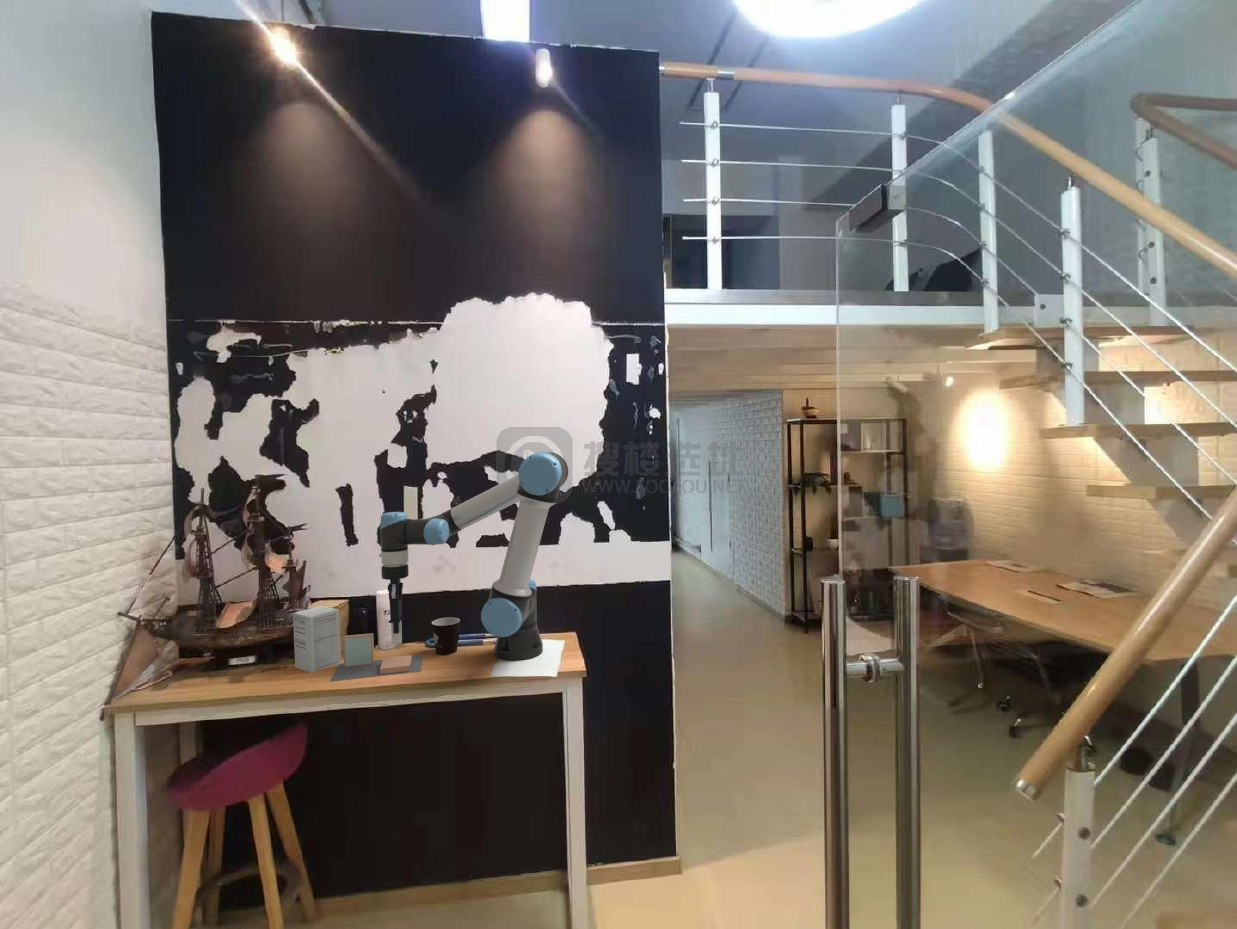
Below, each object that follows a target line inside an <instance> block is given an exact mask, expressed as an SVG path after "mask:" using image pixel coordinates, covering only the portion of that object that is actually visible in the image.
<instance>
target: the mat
mask: <svg viewBox="0 0 1237 929" xmlns="http://www.w3.org/2000/svg"><path fill="white" fill-rule="evenodd" d="M383 659H384V658H383ZM383 659H382V658H381V659H374V664H373V665H365V666H355V667H346V668H344V662H343V663H340V664H337V667H336V669H335V671H334V673H333V674H332V676H331V678H330V680H329V682H340V681H351V680H359V679H367V678H368V679H369V678H376V677H377V678H378V677H385V676H395V675H405V674H413V673H414V674H415V673H421V671H422V665H423V660H424V655H423V654H422V655H412V663H411V668H410V671H406V672H397V673H388V674H380V667H381V664H382V662H383Z"/></svg>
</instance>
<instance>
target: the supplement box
mask: <svg viewBox="0 0 1237 929" xmlns="http://www.w3.org/2000/svg"><path fill="white" fill-rule="evenodd" d="M292 616H293V617H292V619H293V623H292V624H293V643H294V644H293V646H294V667H295V669H299V670H301V671H305V672H307V673H310V674H313V673H316V672H319V671H323V670H325V669H328V668H331V667H334V666H338V665H339V664H342V658H341V657H342V656H341V655H342V654H341V653H342V652H341V651H342V650H341V629H340V628H341V626H340V610H339V609H338V608H334V607H330V606H326V605H319V606H314V607H311V608H308V609H303V610H299V611H296V612H293V613H292Z"/></svg>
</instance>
